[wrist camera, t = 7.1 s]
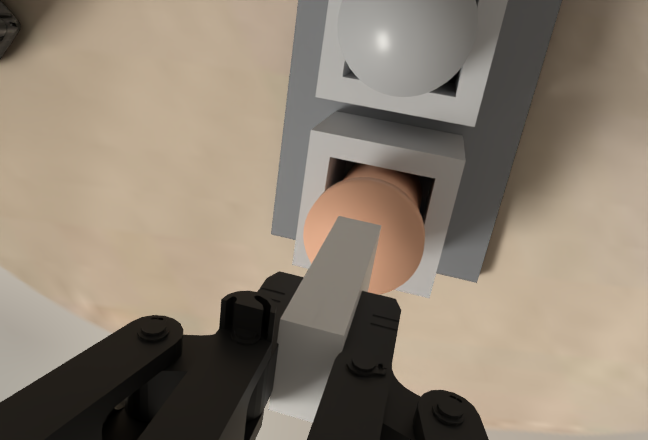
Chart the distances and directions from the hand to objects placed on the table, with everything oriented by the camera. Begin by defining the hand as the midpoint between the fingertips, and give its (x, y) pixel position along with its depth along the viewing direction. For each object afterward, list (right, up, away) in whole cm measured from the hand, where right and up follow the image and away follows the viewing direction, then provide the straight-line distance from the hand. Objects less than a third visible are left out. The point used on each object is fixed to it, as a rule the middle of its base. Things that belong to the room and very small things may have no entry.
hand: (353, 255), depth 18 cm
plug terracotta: (+2, +3, +8) cm, 9 cm away
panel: (+3, +7, +9) cm, 12 cm away
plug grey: (+3, +10, +6) cm, 12 cm away
